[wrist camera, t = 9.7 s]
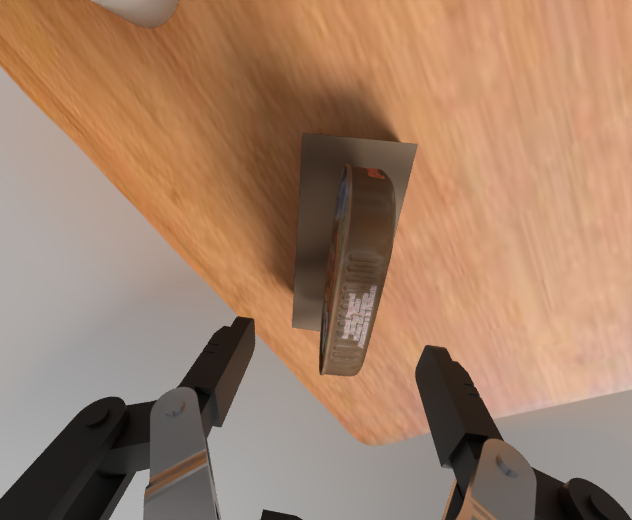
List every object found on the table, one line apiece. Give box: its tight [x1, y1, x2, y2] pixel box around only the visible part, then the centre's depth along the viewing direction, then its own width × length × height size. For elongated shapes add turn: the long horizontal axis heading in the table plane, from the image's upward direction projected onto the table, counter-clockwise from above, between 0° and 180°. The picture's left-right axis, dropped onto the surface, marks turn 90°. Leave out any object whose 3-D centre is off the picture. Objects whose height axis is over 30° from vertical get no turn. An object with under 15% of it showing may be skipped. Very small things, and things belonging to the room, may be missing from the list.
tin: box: [319, 163, 396, 376], centre depth 17 cm, size 15×3×8 cm, turn 175°
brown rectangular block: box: [292, 133, 418, 332], centre depth 23 cm, size 18×8×5 cm, turn 175°
